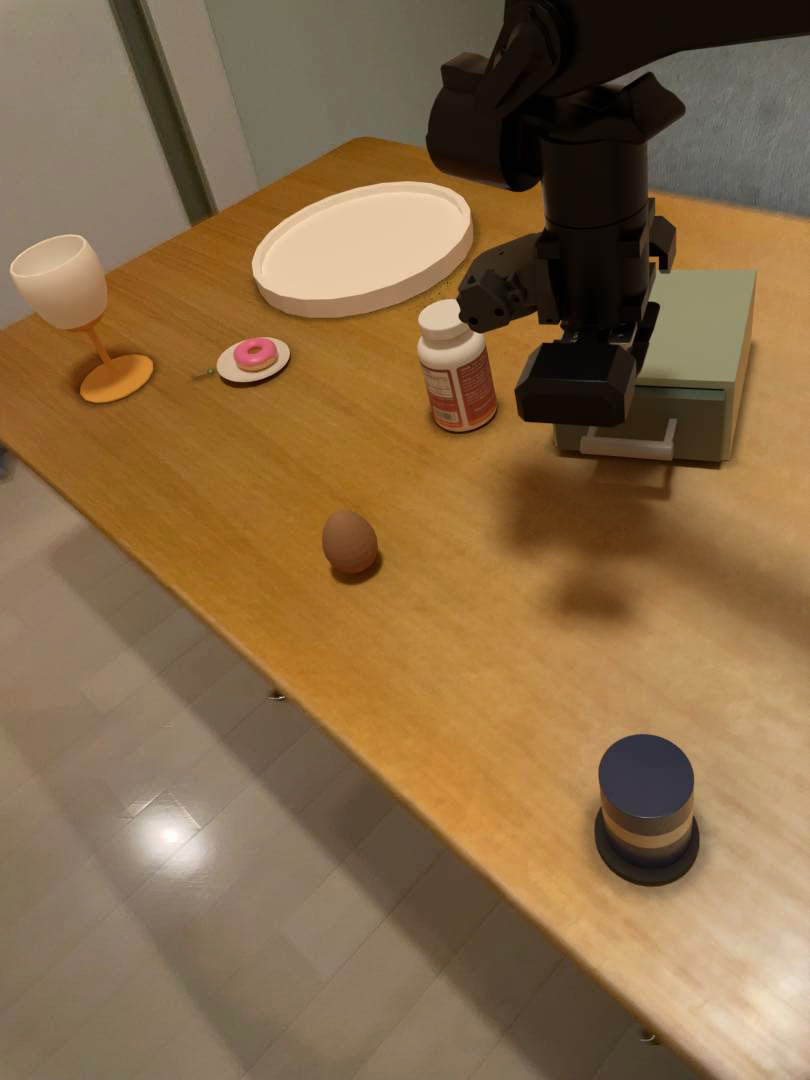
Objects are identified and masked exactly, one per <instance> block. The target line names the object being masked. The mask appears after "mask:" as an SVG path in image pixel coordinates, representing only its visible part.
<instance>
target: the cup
mask: <svg viewBox="0 0 810 1080" xmlns="http://www.w3.org/2000/svg"><path fill="white" fill-rule="evenodd" d="M9 273H10V276H11V278H12V281H13V283H14V285H15V288H16V289H17V291H18V292H19V293H20V295H21V296H22V298H23V299H24V300H25V302H26V303H27V304H28V306H29V307H31V309H32V310H34V312H35V313H37V315H39V317H41V318H42V320H44V321H45V322H47V323H48V324H50V325H51V326H53V327H54V328H55V329H58V330H63V331H67V332H71V333H81V332H85V333H86V334H87V335H88V337H89V339H90V341H91V342H92V344H93V346H94V348H95V349H96V351H97V353H98V355H99V356H100V358H101V360H102V361H103V363H102V364H100V365H98V366H96V367H95V368H94V369H93V370H92V371H90V372H89V374H87V375H86V376H85V378H84V380H83V381H82V383H81V385H80V389H79V390H80V391H79V392H80V393H79V394H80V397H82V398H83V400H84V401H85V402H89V403H93V404H107V403H112V402H116V401H118V400H119V401H120V400H121V399H125V398H127V397H128V396H130V395H132V394H134V393H136V392H137V391H139V390H140V389H141V388H142V387H143V386H144V385H146V384H147V382H148V381H149V380H150V378H151V376H152V375H153V373H154V361H152V360H151V359H150V358H149V357H148V355H147V356H146V355H142V354H136V353H135V354H134V353H133V354H125V355H121V356H118V357H116V358H112V359H111V358H110V356H109V354H108V352H107V351H106V348H105V347H104V345H103V343H102V341H101V339H100V338H99V336H98V334H97V332H96V330H95V326H96V325H98V324H99V323H100V321H102V319H103V318H104V315H105V312H106V310H107V307H108V286H107V282H106V277H105V272H104V269H103V267H102V264H101V262H100V259H99V257H98V255H97V253H96V251H95V250H94V249H93V248H92V246H91V245H90V244H89V242H88V241H87V239H86V238H84V237H83V236H82V235H79V234H71V233H70V234H63V235H56V236H54V237H50V238H47V239H45V240H42V241H39V242H37V243H36V244H34V245H32V246H30V247H28V248H26V249H25V250H24V251H23V252H21V253H20V254H18V256H17V257H16V258H15V259H14V260H13V261H12V262H11V264H10V267H9Z"/></svg>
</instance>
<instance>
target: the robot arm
mask: <svg viewBox="0 0 810 1080" xmlns="http://www.w3.org/2000/svg"><path fill="white" fill-rule="evenodd" d="M502 22H503V23H502V26H501V29H500V31H499V34H498V36H497V39H496V40H495V44H494V47H493V49H492V51H491V54H490V57H486V56H483V55H482V54H480V53H476V52H468V51H464V52H462V53H460V54H459V55H457V56H455V57H453V58H452V59H451V58H450V59H449V60H448V61H446V62H444V63H442V64H441V66H440V76H441V81H442V87H441V88H440V90H439V92H438V93H437V95H436V97H435V98H434V101H433V104H432V106H431V109H430V113H429V118H428V122H427V133H426V134H425V145H426V150H427V152H428V156H429V158H430V161H431V162H432V164H433V165H434V167H435V168H436V169H437V170H438V171H439V172H440V173H441V174H444V175H446V176H448V177H453V178H457V179H461V180H464V181H469V182H472V183H476V184H481V185H484V186H488V187H493V188H495V189H500V190H504V191H509V192H513V193H524V192H527V191H530V190H531V189H533V188H534V187H536V186H537V185H538V184H539V183H540V185H541V186H540V187H541V196H542V205H543V215H544V226H543V230H542V231H539V232H533V233H532V232H531V233H528V234H525V235H522V236H520V237H517V238H515V239H512V240H510V241H507V242H504V243H502V244H499V245H497V246H494V247H492V248H489V249H487V250H484V251H482V252H480V254H478V255H477V256H476V257H475V258H474V259H473V260H472V262H471V263H470V265H469V267H468V269H467V271H466V272H465V274H464V275H463V278H462V280H461V281H460V283H459V285H458V287H457V292H458V295H457V296H456V298H455V299H456V301H457V303H458V304H459V307H460V312H459V315H458V317H459V319H460V321H461V322H463V323H466V324H468V326H469V328H470V329H471V330H472V331H474V332H476V333H479V334H482V333H483V334H486V333H488V332H491V331H496V330H498V329H501V328H504V327H507V326H509V325H510V323H511V322H513V321H515V320H519V319H523V318H525V317H528V316H530V315H533V314H535V313H537V321H538V325H539V326H541V325H542V326H544V325H545V326H558V325H559V327H560V329H561V330H562V334H563V335H562V334H561V336H562V338H561V337H560V339H561V340H560V339H558V338H556V339H553V340H552V342H541V343H540V344H539V345H538V346H537V347H536V348H535V349H533V351H532V352H531V353H530V354H528V358H527V360H526V362H525V364H524V366H523V369H522V371H521V374H520V376H519V377H518V381H517V382H516V385H515V387H514V390H513V391H514V399H515V405H516V411H517V416H518V417H519V418H520V419H521V420H522V421H523V422H524V423H533V424H534V423H535V424H550V425H553V424H563V425H578V426H593V427H607V428H614V427H616V426H618V425H620V424H622V423H624V422H625V421H626V418H627V415H628V411H629V408H630V405H631V401H632V398H633V395H634V389H635V380H636V378H637V376H638V374H639V373H640V372H641V370H642V368H643V365H644V361H645V358H646V355H647V351H648V348H649V345H650V343H649V341H650V338H651V336H652V333H653V331H654V328H655V325H656V321H657V318H658V315H659V311H660V305H659V304H658V303H657V302H652V301H648V300H649V297H650V294H651V291H652V287H653V284H654V281H655V278H656V270H657V262H656V261H650V258H658V270H659V271H660V273H661V274H670V272H671V270H673V269H672V268H673V266H674V262H675V258H676V255H677V227H676V226H675V225H674V224H673V223H671V222H670V221H669V220H668V219H667V218H666V217H665V216H663V215H656V197H654V196H653V197H649V166H648V165H649V164H648V163H649V162H648V142H649V141H650V140H652V139H653V138H654V137H656V136H658V135H659V134H661V132H664V130H666V129H667V128H669V127H670V126H672V125H673V124H674V123H675V122H677V121H679V120H680V119H681V118H683V117H684V116H685V114H686V112H687V107H686V104H685V103H684V102H683V101H682V100H681V99H680V98H679V96H678V95H676V93H674V92H673V91H671V90H669V89H668V88H666V87H665V86H663V85H662V83H661V82H660V81H659V80H658V79H657V77H656V75H655V72H653V71H648V70H647V71H646V72H644V73H643V74H641V75H640V76H638V77H637V78H635V79H634V80H633V81H630V83H628V84H624V85H623V84H616V83H610V82H613V81H614V80H616V79H619V78H621V77H623V76H625V75H628V74H629V73H632V72H635V71H637V70H639V69H641V68H644V67H645V66H648V65H650V64H652V63H654V62H656V61H657V62H658V61H659V60H662V59H664V58H667V57H670V56H673V55H676V54H679V53H681V52H689V51H696V50H704V49H712V48H720V47H721V48H722V47H728V46H736V45H745V44H752V43H760V42H761V43H762V42H769V41H775V40H776V41H777V40H785V39H792V38H801V37H809V36H810V0H504V7H503V19H502ZM563 331H564V333H563Z"/></svg>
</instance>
